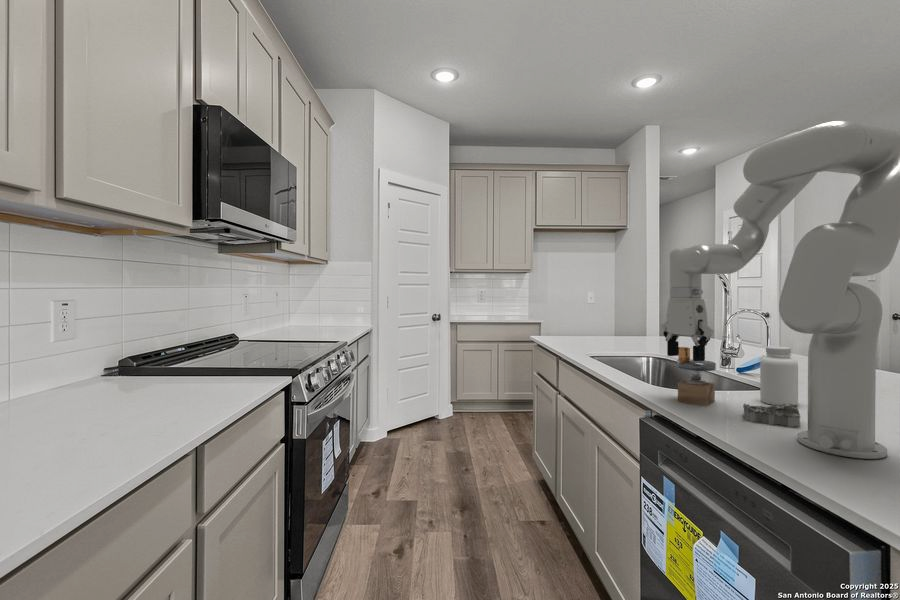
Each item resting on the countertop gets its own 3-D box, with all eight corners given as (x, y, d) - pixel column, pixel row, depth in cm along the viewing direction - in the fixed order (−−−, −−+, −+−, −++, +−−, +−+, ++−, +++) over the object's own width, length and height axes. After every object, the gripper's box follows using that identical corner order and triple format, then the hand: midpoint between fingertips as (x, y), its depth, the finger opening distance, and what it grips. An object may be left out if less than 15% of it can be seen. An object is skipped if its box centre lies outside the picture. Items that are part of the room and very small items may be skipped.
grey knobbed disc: (700, 375, 120) (700, 344, 120) (723, 382, 111) (723, 349, 111) (667, 376, 119) (667, 345, 119) (689, 383, 110) (689, 350, 110)
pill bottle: (753, 401, 114) (753, 346, 114) (770, 398, 118) (771, 344, 117) (787, 408, 107) (787, 349, 107) (804, 404, 110) (804, 347, 110)
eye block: (706, 406, 110) (706, 385, 110) (677, 401, 115) (677, 381, 115) (714, 401, 115) (714, 381, 115) (686, 396, 120) (686, 377, 120)
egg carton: (799, 422, 97) (800, 404, 97) (800, 430, 91) (801, 411, 91) (743, 413, 104) (743, 397, 104) (741, 421, 98) (741, 403, 98)
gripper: (724, 293, 106) (724, 362, 106) (673, 293, 123) (673, 353, 123) (699, 294, 104) (699, 364, 105) (650, 294, 121) (651, 354, 121)
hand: (685, 358), depth 114 cm, fingers open, 8 cm apart
